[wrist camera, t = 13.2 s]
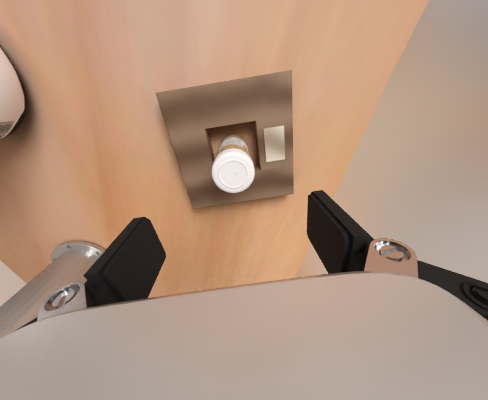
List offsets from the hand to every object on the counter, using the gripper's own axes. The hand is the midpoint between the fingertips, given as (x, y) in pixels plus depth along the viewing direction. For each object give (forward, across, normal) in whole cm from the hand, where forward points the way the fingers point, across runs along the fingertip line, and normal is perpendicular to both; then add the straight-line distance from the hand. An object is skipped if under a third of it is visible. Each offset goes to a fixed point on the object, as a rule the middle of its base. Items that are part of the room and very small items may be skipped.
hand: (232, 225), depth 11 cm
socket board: (+22, 0, 0) cm, 22 cm away
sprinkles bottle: (+22, 0, 0) cm, 22 cm away
